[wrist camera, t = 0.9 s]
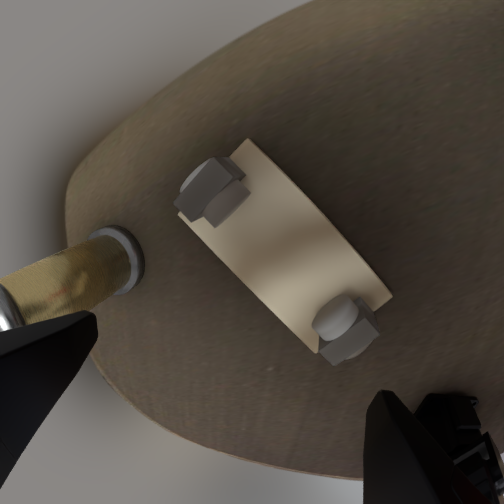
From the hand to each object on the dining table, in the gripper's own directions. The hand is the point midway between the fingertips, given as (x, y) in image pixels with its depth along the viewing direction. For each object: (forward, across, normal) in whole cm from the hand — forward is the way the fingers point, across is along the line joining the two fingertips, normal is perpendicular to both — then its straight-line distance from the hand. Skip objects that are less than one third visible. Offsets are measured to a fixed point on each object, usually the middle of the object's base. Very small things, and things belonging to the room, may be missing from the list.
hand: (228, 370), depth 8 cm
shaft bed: (+13, -1, +1) cm, 13 cm away
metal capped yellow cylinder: (+13, +12, +5) cm, 19 cm away
